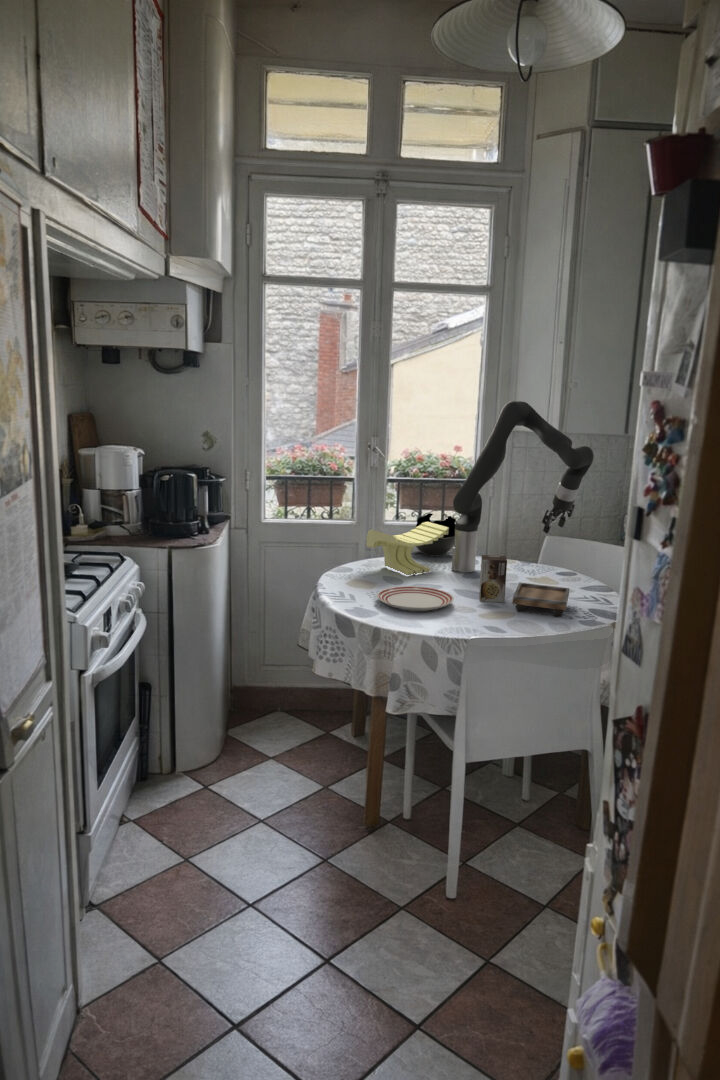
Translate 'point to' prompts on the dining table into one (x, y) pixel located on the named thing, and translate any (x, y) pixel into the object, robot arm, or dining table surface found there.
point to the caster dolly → (541, 597)
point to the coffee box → (493, 578)
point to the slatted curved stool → (406, 546)
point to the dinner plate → (415, 598)
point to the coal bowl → (442, 543)
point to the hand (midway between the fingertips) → (552, 529)
